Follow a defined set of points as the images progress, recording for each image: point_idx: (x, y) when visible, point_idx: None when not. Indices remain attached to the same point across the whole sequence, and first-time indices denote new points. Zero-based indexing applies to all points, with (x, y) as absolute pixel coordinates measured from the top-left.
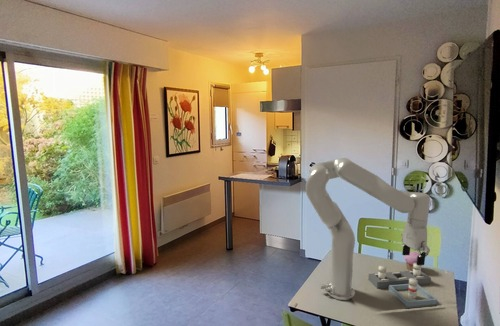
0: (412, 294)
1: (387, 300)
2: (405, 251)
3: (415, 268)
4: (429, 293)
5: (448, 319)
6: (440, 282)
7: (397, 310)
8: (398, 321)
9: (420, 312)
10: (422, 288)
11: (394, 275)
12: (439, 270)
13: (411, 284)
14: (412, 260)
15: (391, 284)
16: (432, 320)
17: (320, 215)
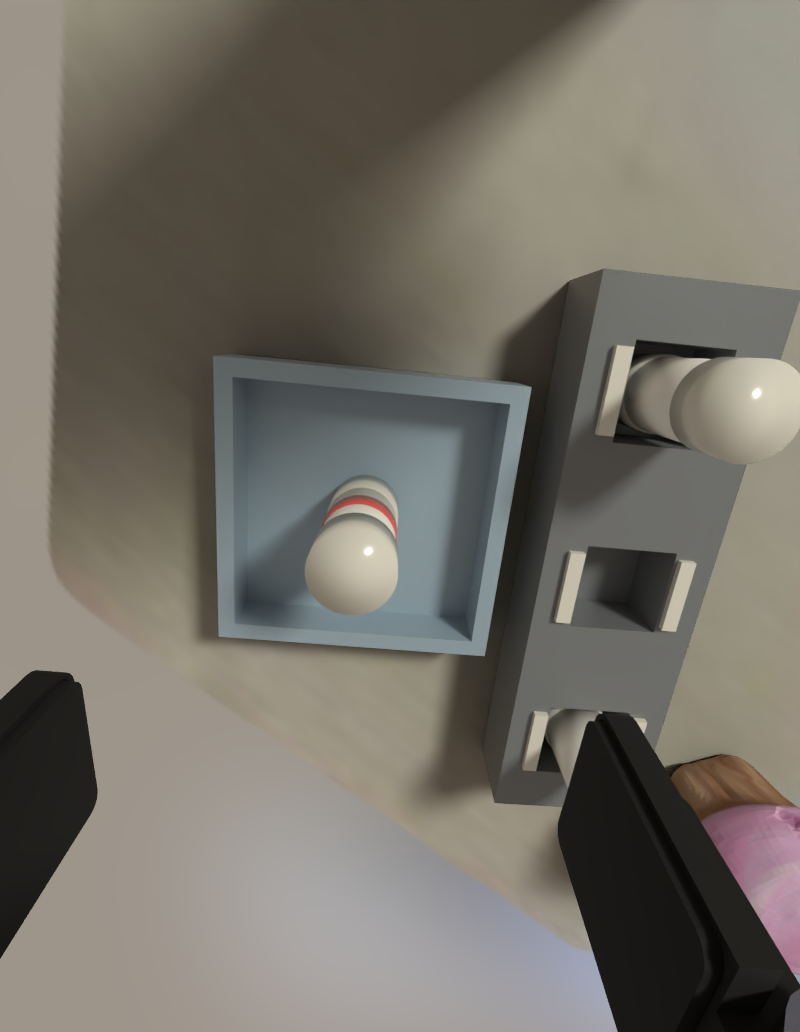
0: (335, 501)
1: (389, 265)
2: (618, 839)
3: None
4: (311, 642)
5: (71, 564)
6: (499, 834)
7: (224, 246)
8: (60, 124)
9: (173, 429)
10: (394, 644)
11: (663, 565)
12: None
13: (332, 523)
14: (746, 851)
15: (554, 441)
16: (64, 443)
17: None
